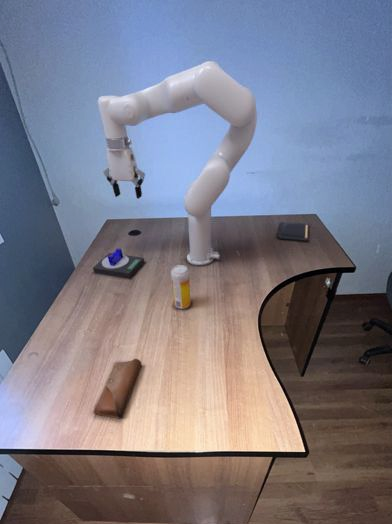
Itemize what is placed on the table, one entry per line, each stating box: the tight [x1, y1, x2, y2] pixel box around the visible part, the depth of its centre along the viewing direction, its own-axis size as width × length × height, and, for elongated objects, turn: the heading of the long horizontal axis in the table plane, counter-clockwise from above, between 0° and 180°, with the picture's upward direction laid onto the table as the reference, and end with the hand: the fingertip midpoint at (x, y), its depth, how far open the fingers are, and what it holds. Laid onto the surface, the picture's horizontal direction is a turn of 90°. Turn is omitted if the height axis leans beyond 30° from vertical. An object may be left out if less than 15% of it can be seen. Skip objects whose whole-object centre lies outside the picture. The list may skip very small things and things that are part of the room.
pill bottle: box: [170, 264, 191, 310], centre depth 94 cm, size 6×6×15 cm
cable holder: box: [108, 247, 124, 266], centre depth 117 cm, size 8×4×4 cm, turn 161°
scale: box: [92, 252, 146, 279], centre depth 119 cm, size 18×14×3 cm
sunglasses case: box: [92, 358, 142, 419], centre depth 73 cm, size 18×7×7 cm
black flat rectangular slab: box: [277, 221, 310, 243], centre depth 138 cm, size 20×2×15 cm
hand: (128, 196), depth 107 cm, fingers open, 9 cm apart
